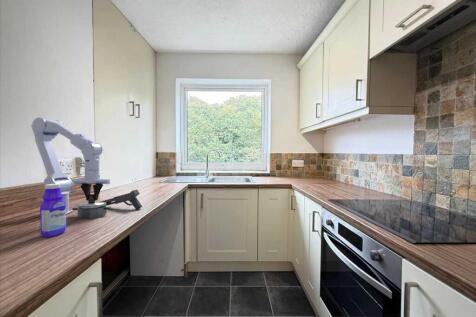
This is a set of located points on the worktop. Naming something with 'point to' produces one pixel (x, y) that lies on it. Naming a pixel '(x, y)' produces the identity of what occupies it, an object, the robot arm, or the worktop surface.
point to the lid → (91, 203)
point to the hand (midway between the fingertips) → (92, 200)
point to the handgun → (126, 199)
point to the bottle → (52, 211)
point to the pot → (91, 212)
